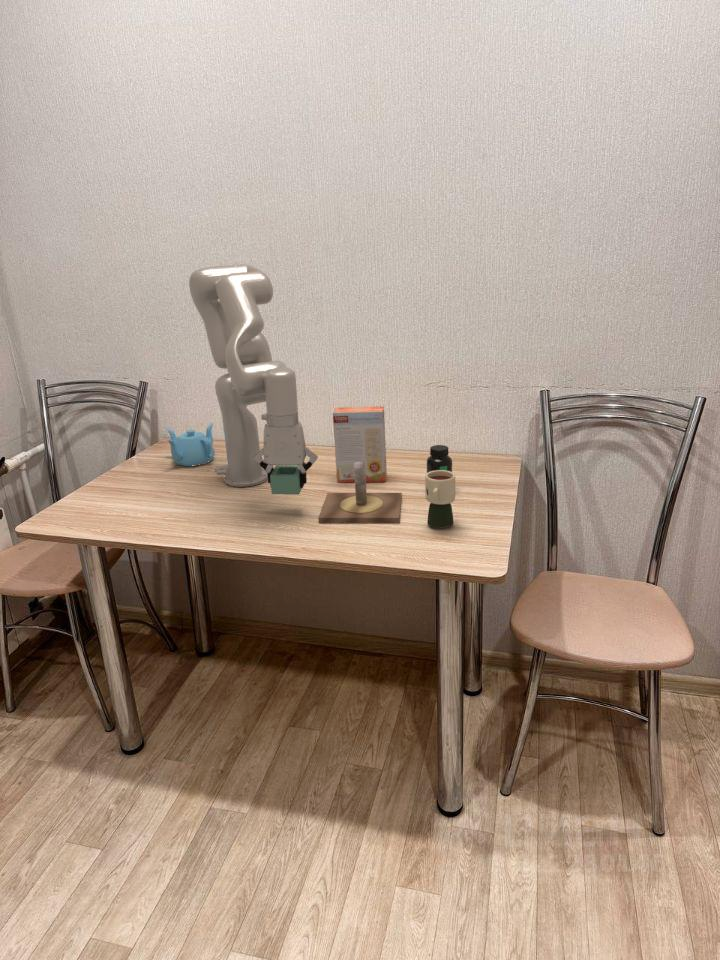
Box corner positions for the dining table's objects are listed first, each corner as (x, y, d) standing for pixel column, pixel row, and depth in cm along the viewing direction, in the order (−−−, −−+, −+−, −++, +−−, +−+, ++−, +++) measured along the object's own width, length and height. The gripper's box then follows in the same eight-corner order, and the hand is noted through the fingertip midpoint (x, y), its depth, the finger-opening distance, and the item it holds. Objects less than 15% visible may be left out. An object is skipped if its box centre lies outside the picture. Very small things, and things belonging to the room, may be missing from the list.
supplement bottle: (449, 495, 185) (449, 452, 180) (424, 492, 187) (423, 450, 183) (454, 485, 191) (454, 444, 186) (430, 483, 193) (429, 442, 189)
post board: (318, 523, 172) (315, 475, 167) (327, 498, 187) (324, 453, 182) (399, 523, 170) (398, 474, 165) (401, 497, 184) (400, 452, 180)
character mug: (431, 514, 174) (431, 466, 169) (459, 517, 171) (460, 468, 166) (420, 532, 164) (419, 481, 159) (449, 536, 162) (449, 484, 157)
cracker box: (387, 475, 201) (384, 405, 193) (385, 482, 195) (383, 411, 188) (339, 475, 202) (335, 406, 195) (336, 483, 197) (332, 412, 189)
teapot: (217, 466, 214) (214, 434, 211) (168, 471, 212) (163, 439, 208) (217, 452, 228) (213, 422, 224) (170, 456, 225) (165, 426, 221)
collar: (271, 494, 174) (270, 475, 172) (277, 483, 180) (275, 465, 178) (299, 494, 173) (297, 476, 171) (303, 483, 179) (302, 465, 177)
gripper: (244, 423, 167) (250, 491, 174) (315, 424, 165) (319, 492, 172) (251, 414, 173) (257, 479, 180) (320, 414, 172) (323, 480, 179)
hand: (287, 485), depth 176 cm, fingers closed on collar, 7 cm apart
